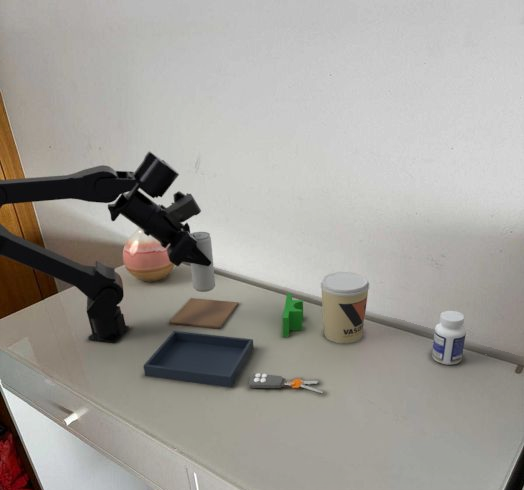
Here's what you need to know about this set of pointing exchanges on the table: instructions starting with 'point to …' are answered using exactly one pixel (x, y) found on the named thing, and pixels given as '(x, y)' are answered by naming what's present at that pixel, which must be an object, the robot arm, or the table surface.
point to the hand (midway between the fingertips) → (208, 260)
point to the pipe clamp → (292, 315)
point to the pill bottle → (449, 338)
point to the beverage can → (201, 273)
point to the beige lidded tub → (344, 306)
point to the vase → (146, 257)
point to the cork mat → (204, 313)
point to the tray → (200, 358)
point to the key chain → (278, 382)
